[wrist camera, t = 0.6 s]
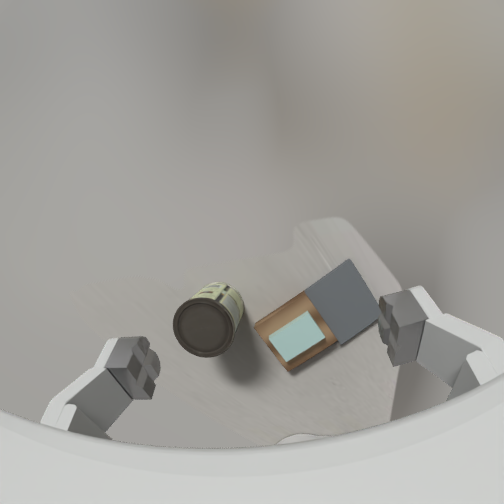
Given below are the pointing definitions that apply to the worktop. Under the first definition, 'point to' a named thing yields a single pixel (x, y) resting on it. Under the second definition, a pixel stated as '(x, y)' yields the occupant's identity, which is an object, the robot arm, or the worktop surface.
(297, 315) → the brown square plate
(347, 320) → the grey flat slab
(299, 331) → the block
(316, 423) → the worktop surface
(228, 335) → the coffee can
